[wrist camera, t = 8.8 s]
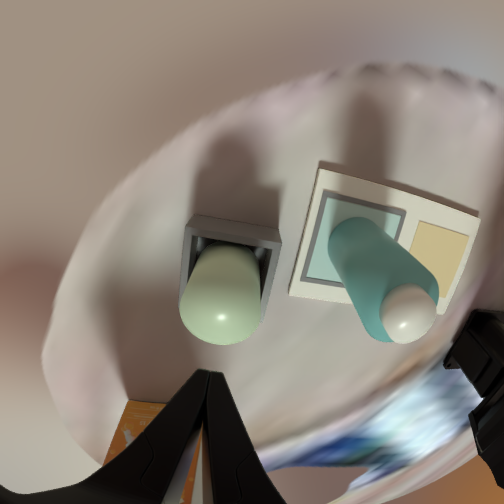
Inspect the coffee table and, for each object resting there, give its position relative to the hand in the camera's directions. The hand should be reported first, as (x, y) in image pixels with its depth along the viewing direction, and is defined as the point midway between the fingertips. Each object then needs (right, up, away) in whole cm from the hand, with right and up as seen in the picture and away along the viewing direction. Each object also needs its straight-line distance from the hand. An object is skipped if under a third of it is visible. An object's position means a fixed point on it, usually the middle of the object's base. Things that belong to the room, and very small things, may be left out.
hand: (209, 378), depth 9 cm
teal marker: (+8, +5, +8) cm, 12 cm away
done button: (0, +3, +8) cm, 8 cm away
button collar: (0, +4, +9) cm, 10 cm away
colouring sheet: (+11, +4, +9) cm, 15 cm away
